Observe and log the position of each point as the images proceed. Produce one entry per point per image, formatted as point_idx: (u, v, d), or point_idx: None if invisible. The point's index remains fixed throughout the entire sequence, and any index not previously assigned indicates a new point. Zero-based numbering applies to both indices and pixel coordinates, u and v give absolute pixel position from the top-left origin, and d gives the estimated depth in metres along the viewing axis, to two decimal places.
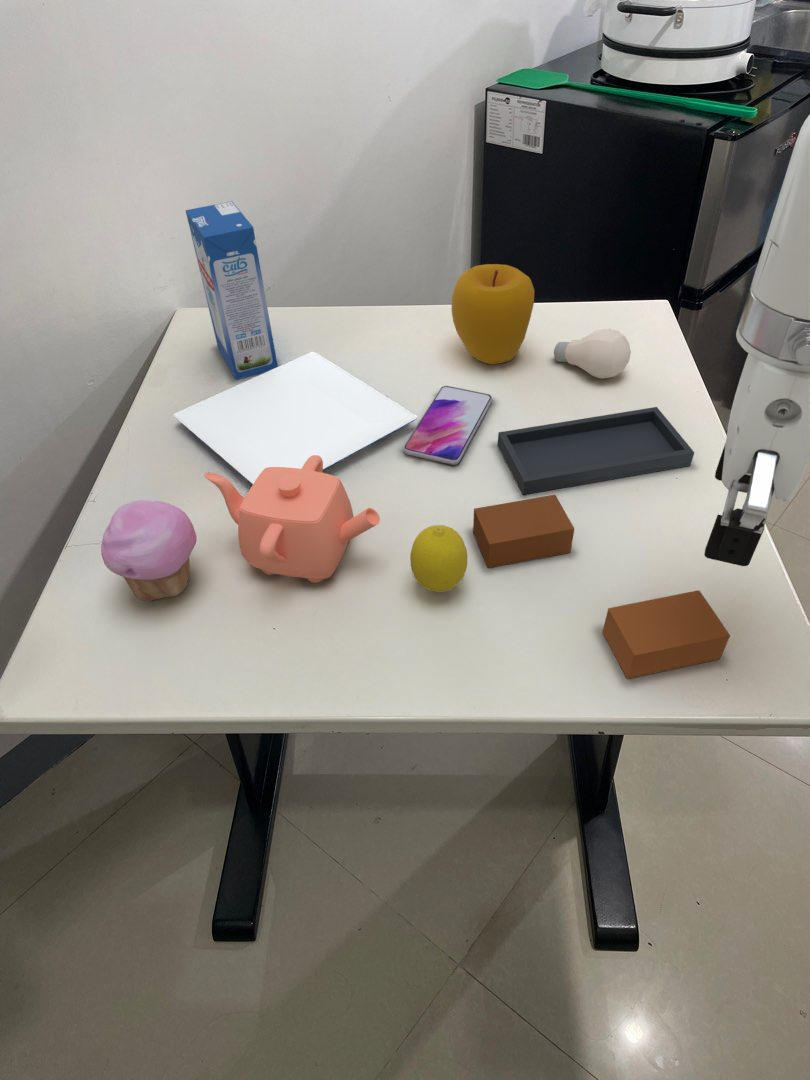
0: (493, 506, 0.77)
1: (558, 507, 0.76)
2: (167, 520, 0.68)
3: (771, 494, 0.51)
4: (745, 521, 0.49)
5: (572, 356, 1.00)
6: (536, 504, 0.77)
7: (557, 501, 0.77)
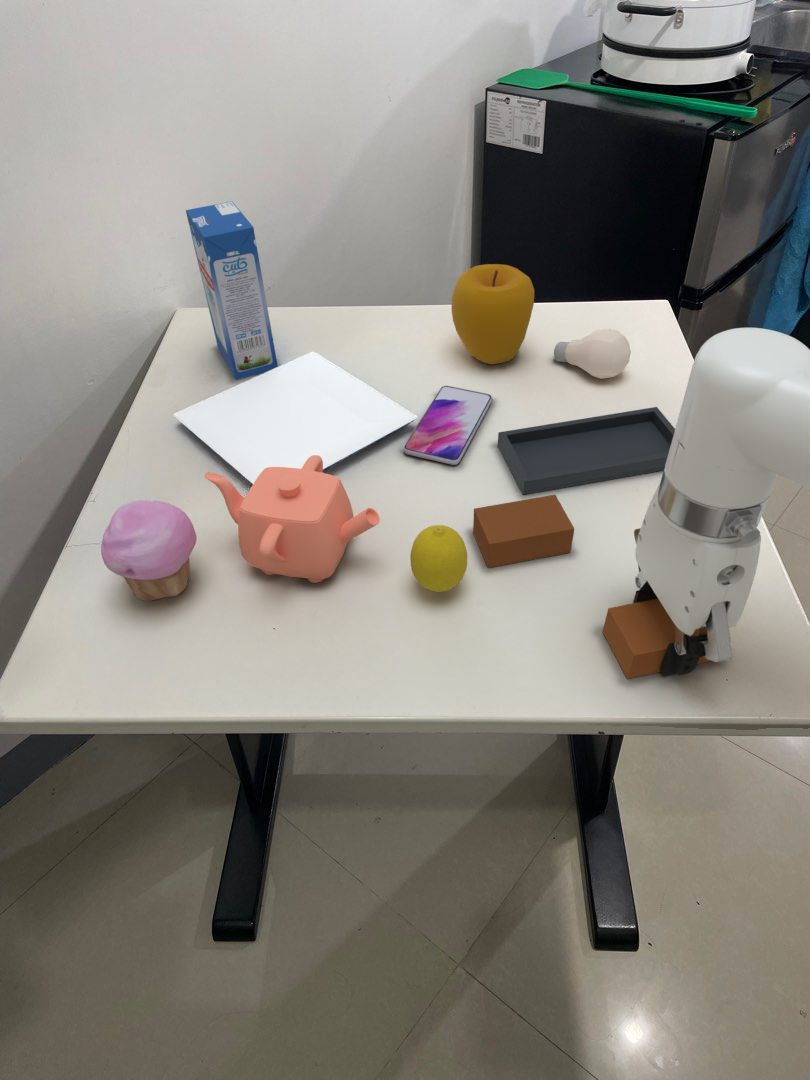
0: (493, 506, 0.77)
1: (558, 507, 0.76)
2: (167, 520, 0.68)
3: None
4: None
5: (572, 356, 1.00)
6: (536, 504, 0.77)
7: (557, 501, 0.77)
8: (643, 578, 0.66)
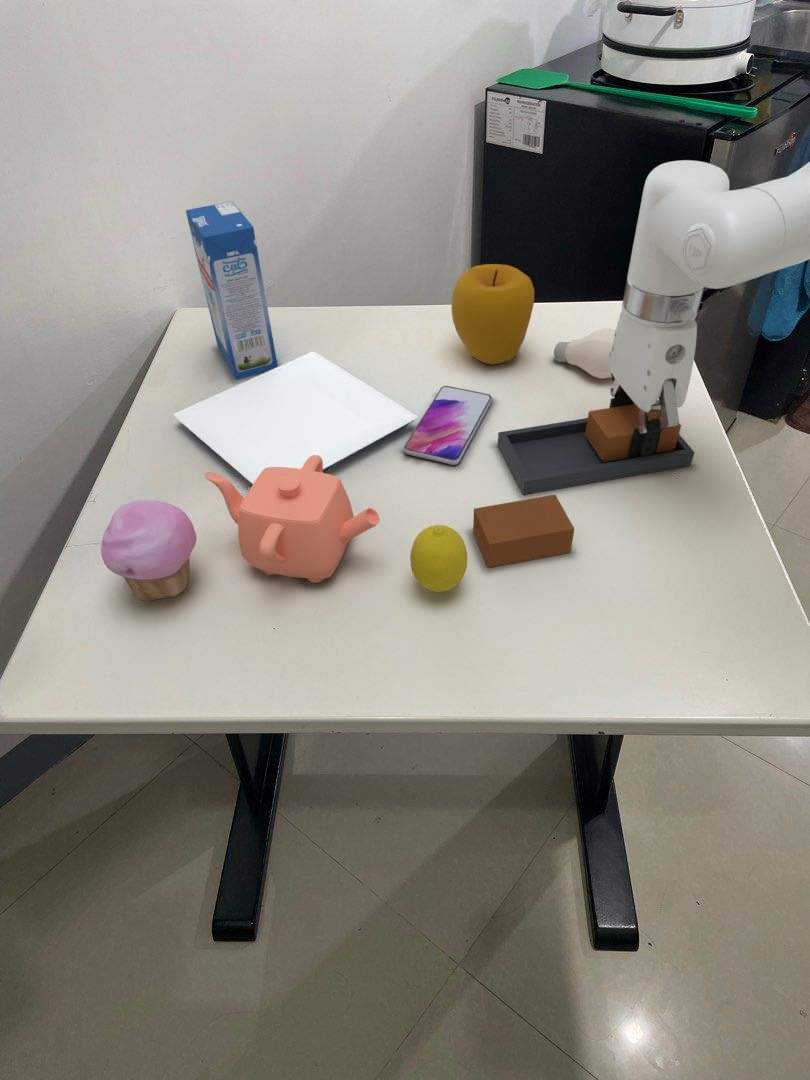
0: (493, 506, 0.77)
1: (558, 507, 0.76)
2: (167, 520, 0.68)
3: None
4: None
5: (572, 356, 1.00)
6: (536, 504, 0.77)
7: (557, 501, 0.77)
8: (616, 386, 0.86)
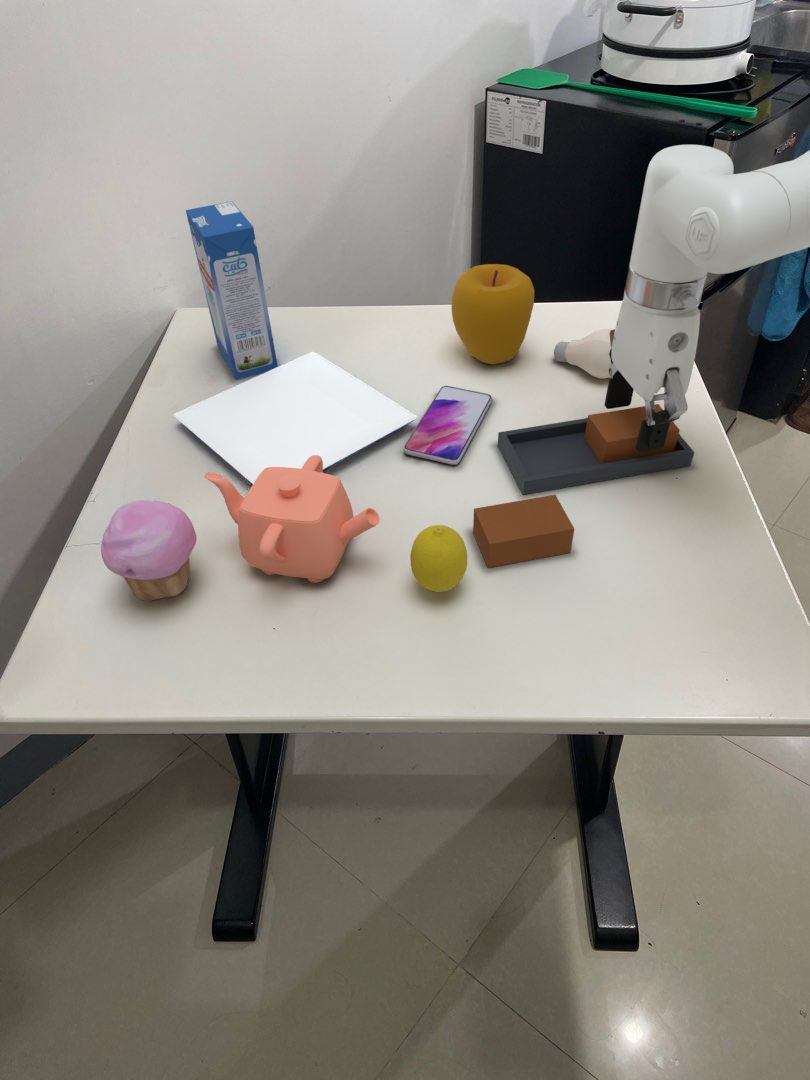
0: (493, 506, 0.77)
1: (558, 507, 0.76)
2: (167, 520, 0.68)
3: None
4: (673, 416, 0.76)
5: (572, 356, 1.00)
6: (536, 504, 0.77)
7: (557, 501, 0.77)
8: (615, 368, 0.85)
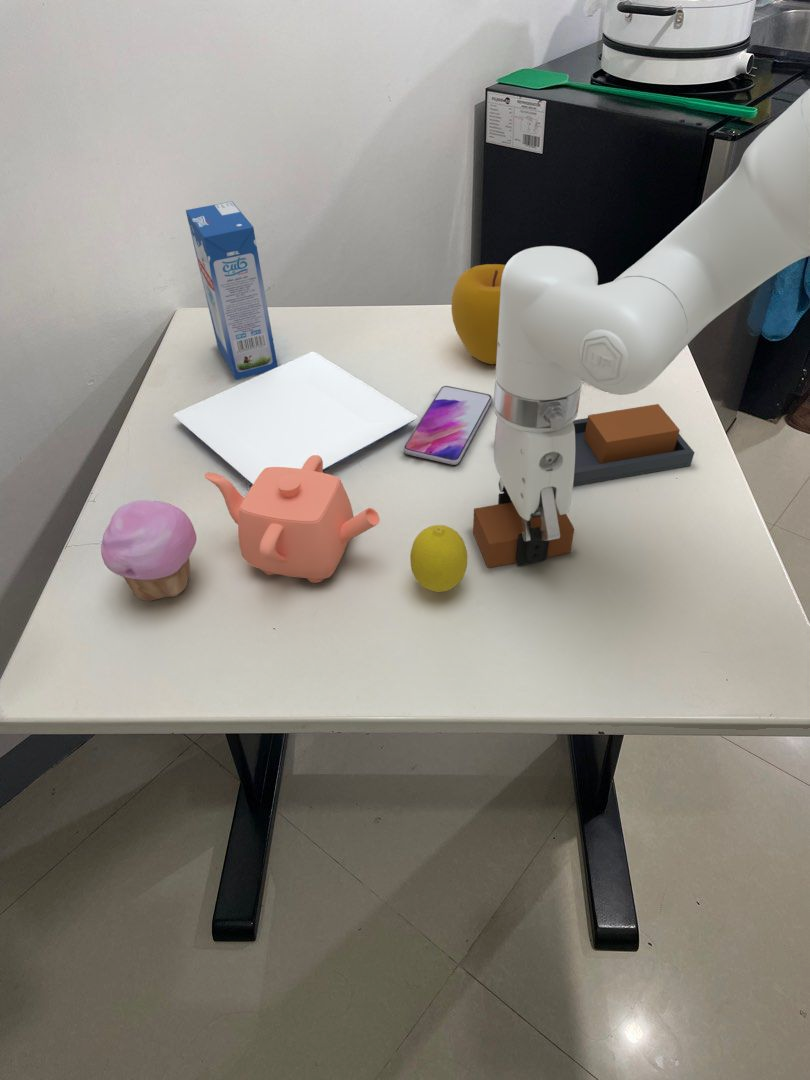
0: (493, 506, 0.77)
1: None
2: (167, 520, 0.68)
3: None
4: None
5: None
6: None
7: None
8: (502, 481, 0.76)
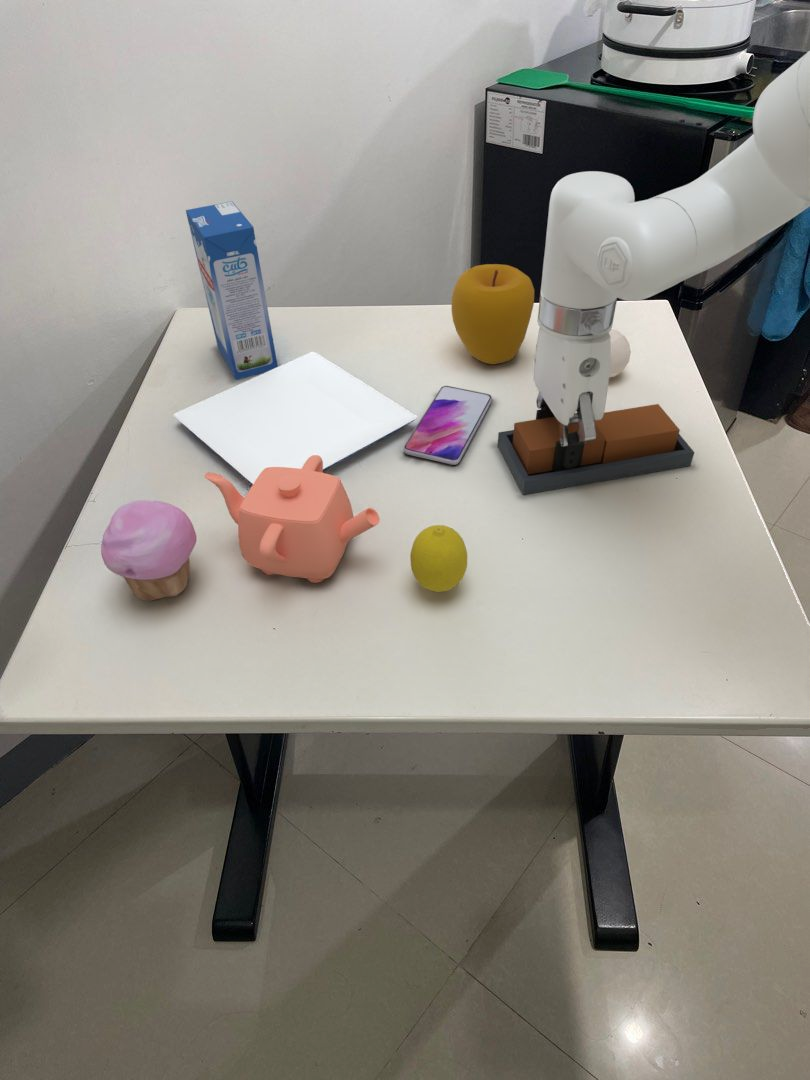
0: (531, 421, 0.86)
1: None
2: (167, 520, 0.68)
3: None
4: (582, 441, 0.78)
5: None
6: None
7: None
8: (540, 397, 0.85)
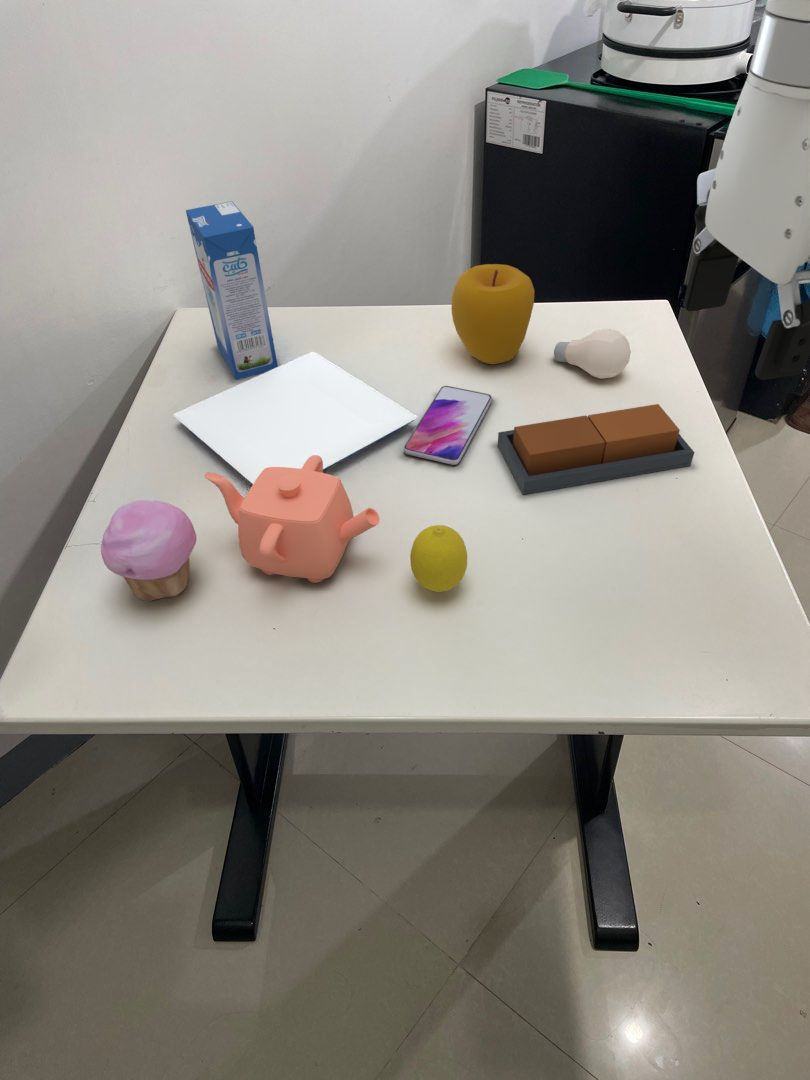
0: (531, 425, 0.86)
1: (589, 425, 0.86)
2: (167, 520, 0.68)
3: None
4: None
5: (572, 356, 1.00)
6: (570, 423, 0.86)
7: (588, 420, 0.86)
8: (707, 238, 0.51)
